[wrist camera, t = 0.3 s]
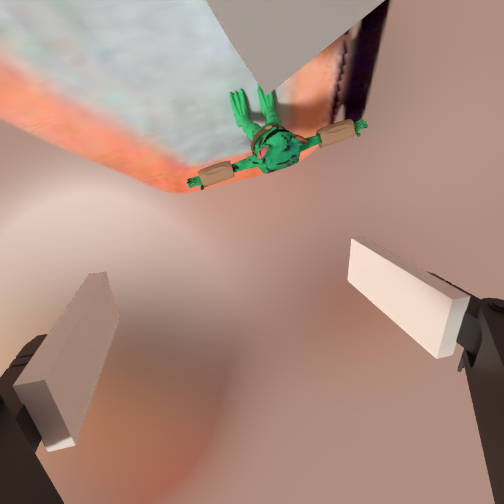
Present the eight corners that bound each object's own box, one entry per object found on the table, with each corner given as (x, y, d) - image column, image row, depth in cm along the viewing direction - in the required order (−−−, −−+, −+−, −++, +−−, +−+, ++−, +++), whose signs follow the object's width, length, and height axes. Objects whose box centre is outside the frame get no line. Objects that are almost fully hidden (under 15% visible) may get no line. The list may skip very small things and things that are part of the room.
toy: (332, 55, 41) (389, 102, 32) (330, 99, 46) (378, 150, 37) (165, 112, 41) (176, 175, 32) (182, 149, 46) (196, 212, 37)
